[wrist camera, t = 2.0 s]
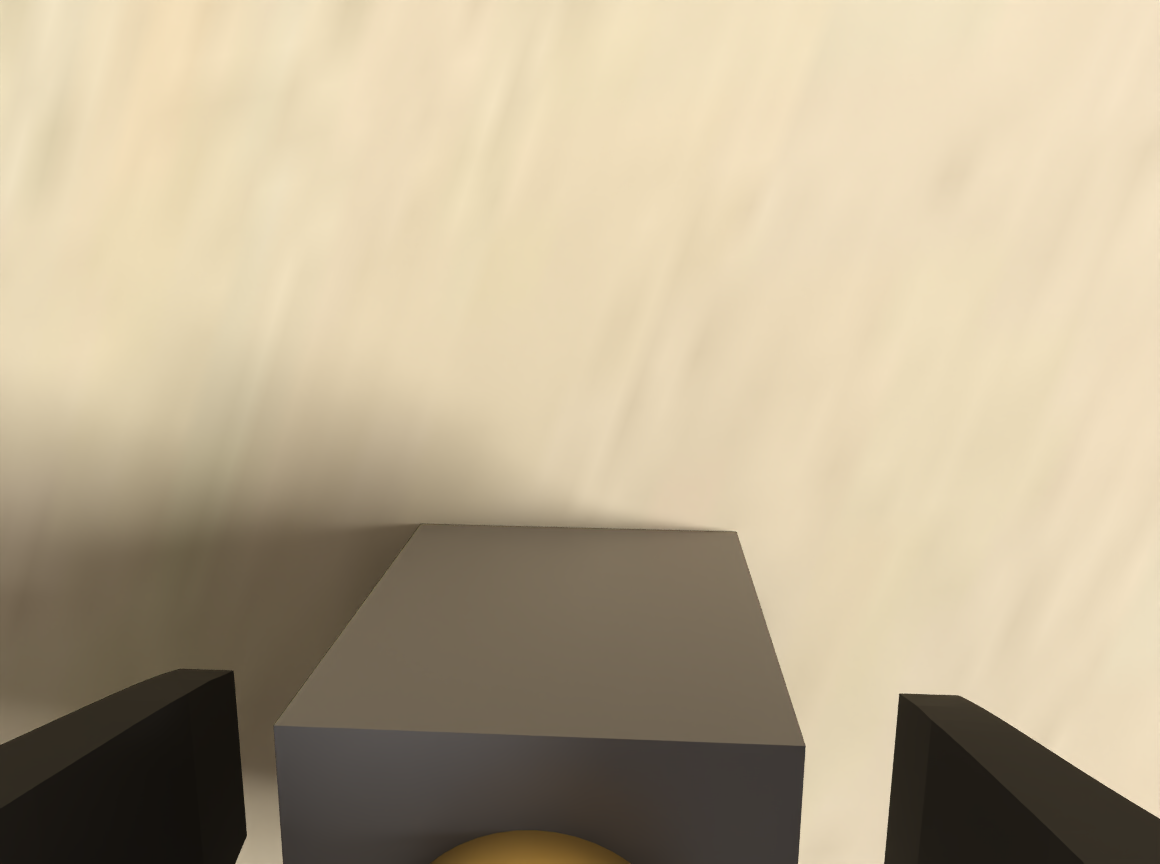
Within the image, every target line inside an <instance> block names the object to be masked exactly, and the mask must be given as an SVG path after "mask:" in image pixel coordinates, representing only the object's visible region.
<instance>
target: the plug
mask: <svg viewBox="0 0 1160 864" xmlns="http://www.w3.org/2000/svg"><path fill="white" fill-rule="evenodd" d="M274 739H275V753H276V768H277V782H278V796H279V811H280V825H281V840H282V854H283V864H798V855H799V839H800V824H801V808H802V793H803V778H804V762H805V747H806V746H805V743H804V740H803V737H802V733H801V730H800V727H799V724H798V721H797V718H796V715H795V712H794V709H793V706H792V702H791V699H790V696H789V693H788V690H787V687H786V684H785V681H784V678H783V675H782V671H781V668H780V665H779V662H778V659H777V656H776V653H775V650H774V647H773V643H772V640H771V637H770V634H769V631H768V628H767V625H766V622H765V619H764V616H763V612H762V609H761V606H760V603H759V600H758V597H757V594H756V591H755V588H754V585H753V581H752V578H751V575H750V572H749V569H748V566H747V563H746V560H745V557H744V554H743V550H742V547H741V544H740V541H739V538H738V535H737V532H723V531H684V530H646V529H607V528H568V527H529V526H490V525H451V524H420V526H419V527H418V528H417V530H416V531H415V533H414V534H413V535H412V537H411V538H410V539H409V541H408V542H407V543H406V545H405V546H404V548H403V549H402V550H401V552H400V553H399V554H398V556H397V557H396V559H395V560H394V561H393V563H392V564H391V565H390V567H389V568H388V570H387V571H386V572H385V574H384V575H383V576H382V578H381V579H380V580H379V582H378V583H377V585H376V586H375V587H374V589H373V590H372V591H371V593H370V594H369V596H368V597H367V598H366V600H365V601H364V602H363V604H362V605H361V606H360V608H359V609H358V611H357V612H356V613H355V615H354V616H353V617H352V619H351V620H350V622H349V623H348V624H347V626H346V627H345V628H344V630H343V631H342V633H341V634H340V635H339V637H338V638H337V639H336V641H335V642H334V643H333V645H332V646H331V648H330V649H329V650H328V652H327V653H326V654H325V656H324V657H323V659H322V660H321V661H320V663H319V664H318V665H317V667H316V668H315V670H314V671H313V672H312V674H311V675H310V676H309V678H308V679H307V680H306V682H305V683H304V685H303V686H302V687H301V689H300V690H299V691H298V693H297V694H296V696H295V697H294V698H293V700H292V701H291V702H290V704H289V705H288V706H287V708H286V709H285V711H284V712H283V713H282V715H281V716H280V717H279V719H278V720H277V722H276V723H275V724H274Z"/></svg>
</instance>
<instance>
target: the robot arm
mask: <svg viewBox="0 0 1160 864" xmlns="http://www.w3.org/2000/svg"><path fill="white" fill-rule="evenodd" d="M246 836H247V831H246V819H245V806H244V794H243V781H242V769H241V757H240V744H239V732H238V719H237V707H236V695H235V682H234V671H228V670H199V669H178V670H175V671H171V672H168V673H165V674H162V675H159V676H156V677H153V678H151V679H148V680H146V681H143V682H141V683H138V684H136V685H133V686H131V687H129V688H126V689H124V690H121V691H119V692H117V693H115V694H112V695H110V696H108V697H106V698H103V699H101V700H99V701H97V702H94V703H92V704H90V705H88V706H86V707H83V708H81V709H79V710H77V711H75V712H72V713H70V714H68V715H66V716H64V717H61V718H59V719H57V720H55V721H53V722H50V723H48V724H46V725H44V726H42V727H39V728H37V729H35V730H33V731H31V732H28V733H26V734H24V735H22V736H20V737H17V738H15V739H13V740H11V741H9V742H6V743H4V744H2V745H0V864H235V862H236V860H237V858H238V855H239V853H240V851H241V848H242V846H243V844H244V841H245V839H246ZM884 864H1160V819H1159V818H1158V817H1156V816H1154V815H1153V814H1151V813H1149V812H1148V811H1146V810H1144V809H1143V808H1141V807H1139V806H1138V805H1136V804H1134V803H1133V802H1131V801H1129V800H1128V799H1126V798H1124V797H1123V796H1121V795H1119V794H1118V793H1116V792H1115V791H1113V790H1111V789H1110V788H1108V787H1107V786H1105V785H1103V784H1102V783H1100V782H1099V781H1097V780H1095V779H1094V778H1092V777H1091V776H1089V775H1087V774H1086V773H1084V772H1083V771H1081V770H1080V769H1078V768H1076V767H1075V766H1073V765H1072V764H1070V763H1069V762H1067V761H1065V760H1064V759H1062V758H1061V757H1059V756H1058V755H1056V754H1055V753H1053V752H1051V751H1050V750H1048V749H1047V748H1045V747H1044V746H1042V745H1041V744H1039V743H1037V742H1036V741H1034V740H1033V739H1031V738H1030V737H1028V736H1027V735H1025V734H1023V733H1022V732H1020V731H1019V730H1017V729H1016V728H1014V727H1013V726H1011V725H1009V724H1008V723H1006V722H1005V721H1003V720H1001V719H1000V718H998V717H997V716H995V715H993V714H992V713H990V712H988V711H987V710H985V709H983V708H982V707H980V706H978V705H976V704H974V703H973V702H971V701H969V700H967V699H965V698H963V697H961V696H956V695H927V694H899V704H898V716H897V727H896V738H895V749H894V761H893V772H892V783H891V794H890V806H889V817H888V828H887V840H886V851H885V862H884Z"/></svg>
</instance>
